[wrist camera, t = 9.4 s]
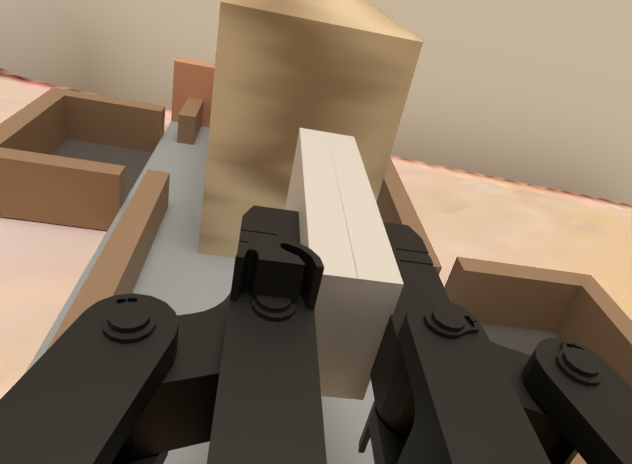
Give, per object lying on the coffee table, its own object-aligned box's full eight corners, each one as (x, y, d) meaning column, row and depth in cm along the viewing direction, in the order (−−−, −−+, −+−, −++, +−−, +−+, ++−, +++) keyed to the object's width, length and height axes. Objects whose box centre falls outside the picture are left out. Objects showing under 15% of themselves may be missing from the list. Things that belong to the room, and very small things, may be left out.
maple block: (325, 146, 35) (359, -7, 30) (356, 271, 22) (422, 42, 17) (226, 130, 34) (243, -32, 29) (198, 253, 21) (220, 1, 16)
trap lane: (459, 178, 38) (483, 113, 36) (899, 802, 11) (1142, 720, 8) (76, 116, 34) (72, 38, 31) (-757, 874, 7) (-1311, 753, 4)
